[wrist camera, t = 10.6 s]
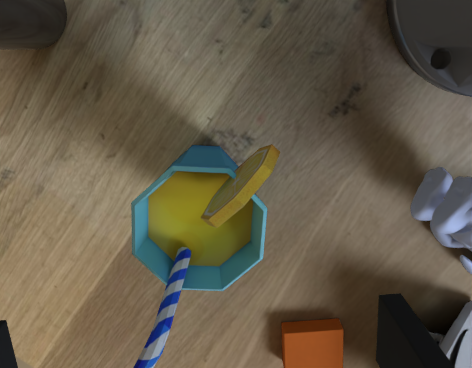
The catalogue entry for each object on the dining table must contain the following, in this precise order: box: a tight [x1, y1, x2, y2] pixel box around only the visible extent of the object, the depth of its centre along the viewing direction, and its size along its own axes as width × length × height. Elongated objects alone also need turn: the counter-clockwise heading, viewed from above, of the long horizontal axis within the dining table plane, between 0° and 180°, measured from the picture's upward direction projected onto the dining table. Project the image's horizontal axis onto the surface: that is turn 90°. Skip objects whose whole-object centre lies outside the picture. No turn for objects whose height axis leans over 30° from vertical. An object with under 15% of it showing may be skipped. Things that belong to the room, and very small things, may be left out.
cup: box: [131, 145, 280, 368], centre depth 26 cm, size 14×8×15 cm, turn 154°
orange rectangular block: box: [281, 318, 344, 368], centre depth 37 cm, size 5×4×2 cm
